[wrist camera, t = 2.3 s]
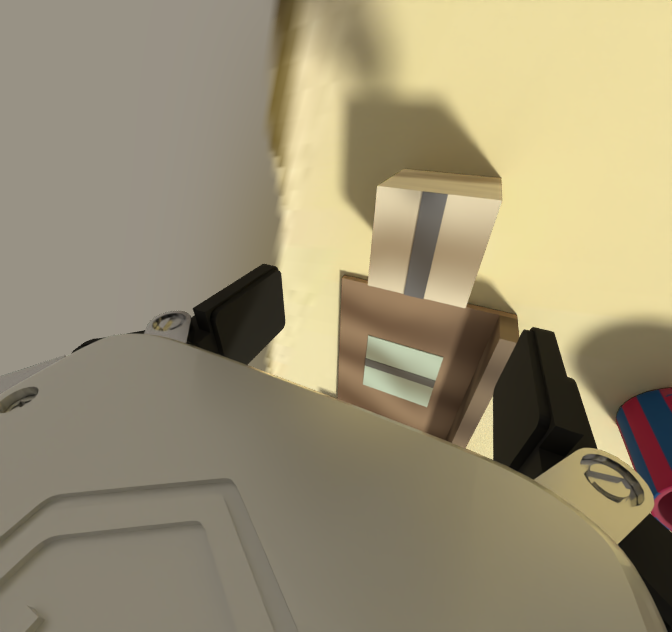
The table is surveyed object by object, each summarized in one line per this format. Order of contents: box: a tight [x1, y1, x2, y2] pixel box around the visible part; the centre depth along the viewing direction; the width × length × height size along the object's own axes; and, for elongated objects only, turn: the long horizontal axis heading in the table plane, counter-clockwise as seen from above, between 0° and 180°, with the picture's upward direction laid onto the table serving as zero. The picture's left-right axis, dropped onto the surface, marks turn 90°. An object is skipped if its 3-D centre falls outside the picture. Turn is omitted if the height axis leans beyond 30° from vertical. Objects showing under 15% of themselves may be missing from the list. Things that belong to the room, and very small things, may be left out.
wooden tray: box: [338, 275, 519, 448], centre depth 28 cm, size 20×14×4 cm
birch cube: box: [368, 169, 502, 308], centre depth 18 cm, size 6×6×6 cm
